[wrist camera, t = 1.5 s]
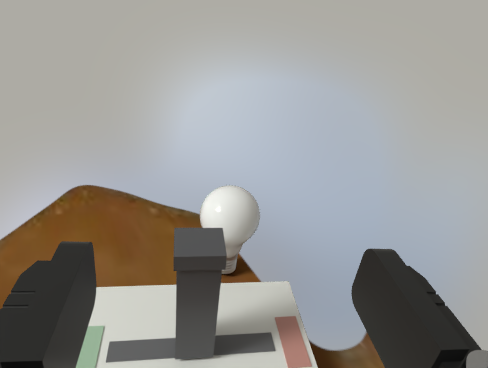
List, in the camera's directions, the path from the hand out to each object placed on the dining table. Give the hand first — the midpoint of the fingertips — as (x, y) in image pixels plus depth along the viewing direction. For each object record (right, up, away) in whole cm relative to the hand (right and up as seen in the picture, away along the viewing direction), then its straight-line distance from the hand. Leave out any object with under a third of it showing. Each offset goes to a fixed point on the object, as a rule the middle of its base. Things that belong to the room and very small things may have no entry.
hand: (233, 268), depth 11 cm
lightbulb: (-2, -8, +32) cm, 33 cm away
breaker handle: (-4, -11, +19) cm, 22 cm away
